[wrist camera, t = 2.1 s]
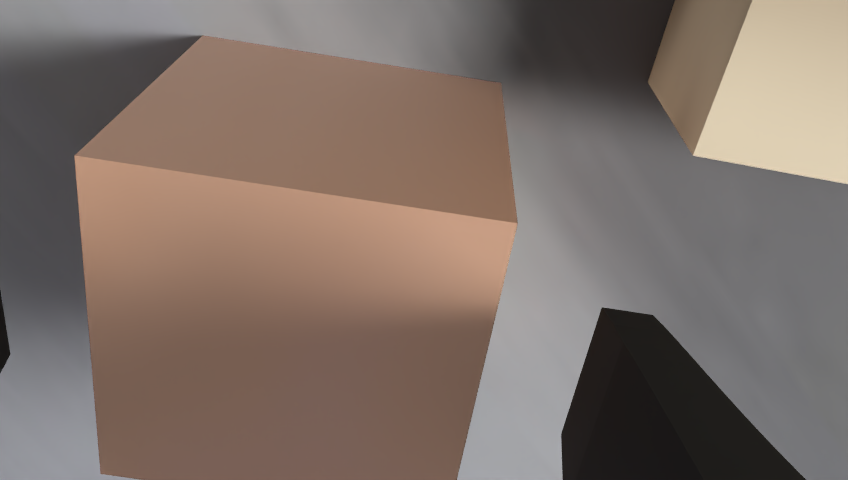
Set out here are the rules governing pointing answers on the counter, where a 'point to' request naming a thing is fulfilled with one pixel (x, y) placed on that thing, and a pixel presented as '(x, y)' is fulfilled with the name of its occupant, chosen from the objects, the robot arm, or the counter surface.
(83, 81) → the counter surface
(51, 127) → the counter surface
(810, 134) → the oak block
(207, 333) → the terracotta cube
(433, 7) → the counter surface
